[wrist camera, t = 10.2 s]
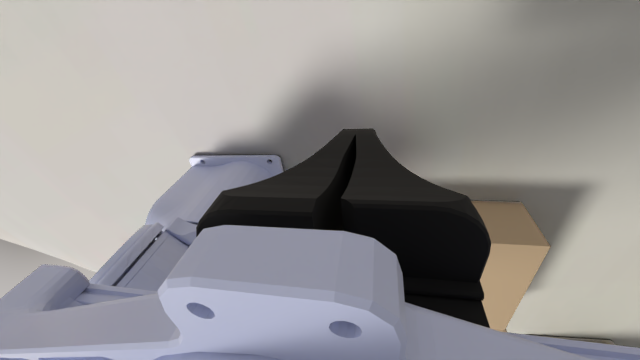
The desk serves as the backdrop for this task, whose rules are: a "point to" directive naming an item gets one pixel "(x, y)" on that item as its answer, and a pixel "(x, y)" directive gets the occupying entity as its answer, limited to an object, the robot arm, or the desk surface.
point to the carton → (509, 258)
